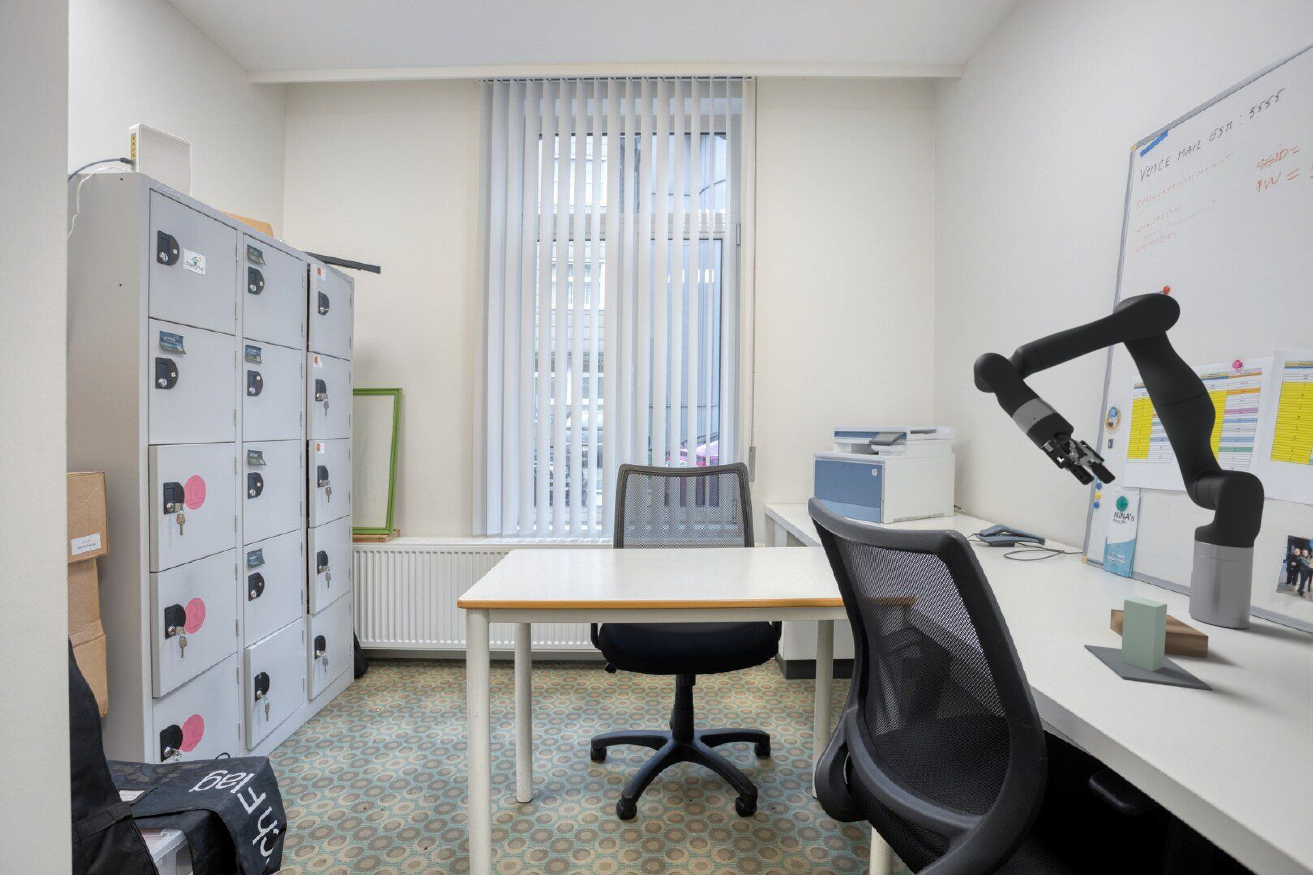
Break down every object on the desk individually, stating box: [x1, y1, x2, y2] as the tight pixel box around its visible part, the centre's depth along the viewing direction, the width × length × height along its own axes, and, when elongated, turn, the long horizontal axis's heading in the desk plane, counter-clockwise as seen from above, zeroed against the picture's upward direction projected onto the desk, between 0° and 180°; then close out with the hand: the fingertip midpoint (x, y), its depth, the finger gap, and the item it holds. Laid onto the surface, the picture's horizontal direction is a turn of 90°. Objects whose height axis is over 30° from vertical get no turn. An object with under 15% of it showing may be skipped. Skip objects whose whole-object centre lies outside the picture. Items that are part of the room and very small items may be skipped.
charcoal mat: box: [1083, 644, 1213, 691], centre depth 99 cm, size 14×12×1 cm
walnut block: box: [1109, 608, 1209, 659], centre depth 111 cm, size 12×10×4 cm
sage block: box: [1121, 596, 1168, 672], centre depth 99 cm, size 4×4×11 cm
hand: (1100, 482), depth 114 cm, fingers open, 8 cm apart
